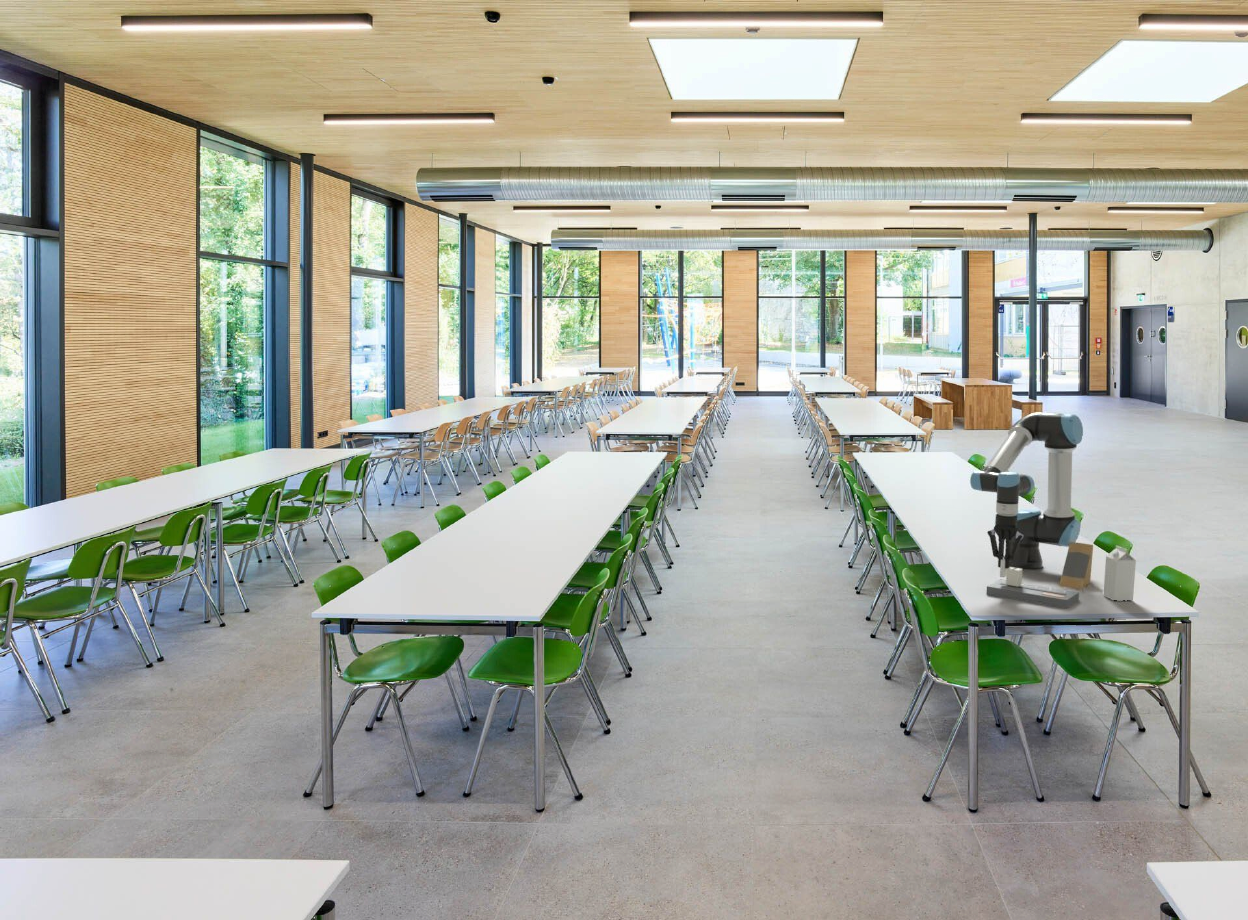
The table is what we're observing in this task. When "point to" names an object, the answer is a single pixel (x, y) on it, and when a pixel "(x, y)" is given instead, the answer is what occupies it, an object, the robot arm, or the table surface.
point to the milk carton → (1119, 575)
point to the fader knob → (1014, 576)
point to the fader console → (1034, 594)
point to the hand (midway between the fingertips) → (1003, 576)
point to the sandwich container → (1077, 566)
